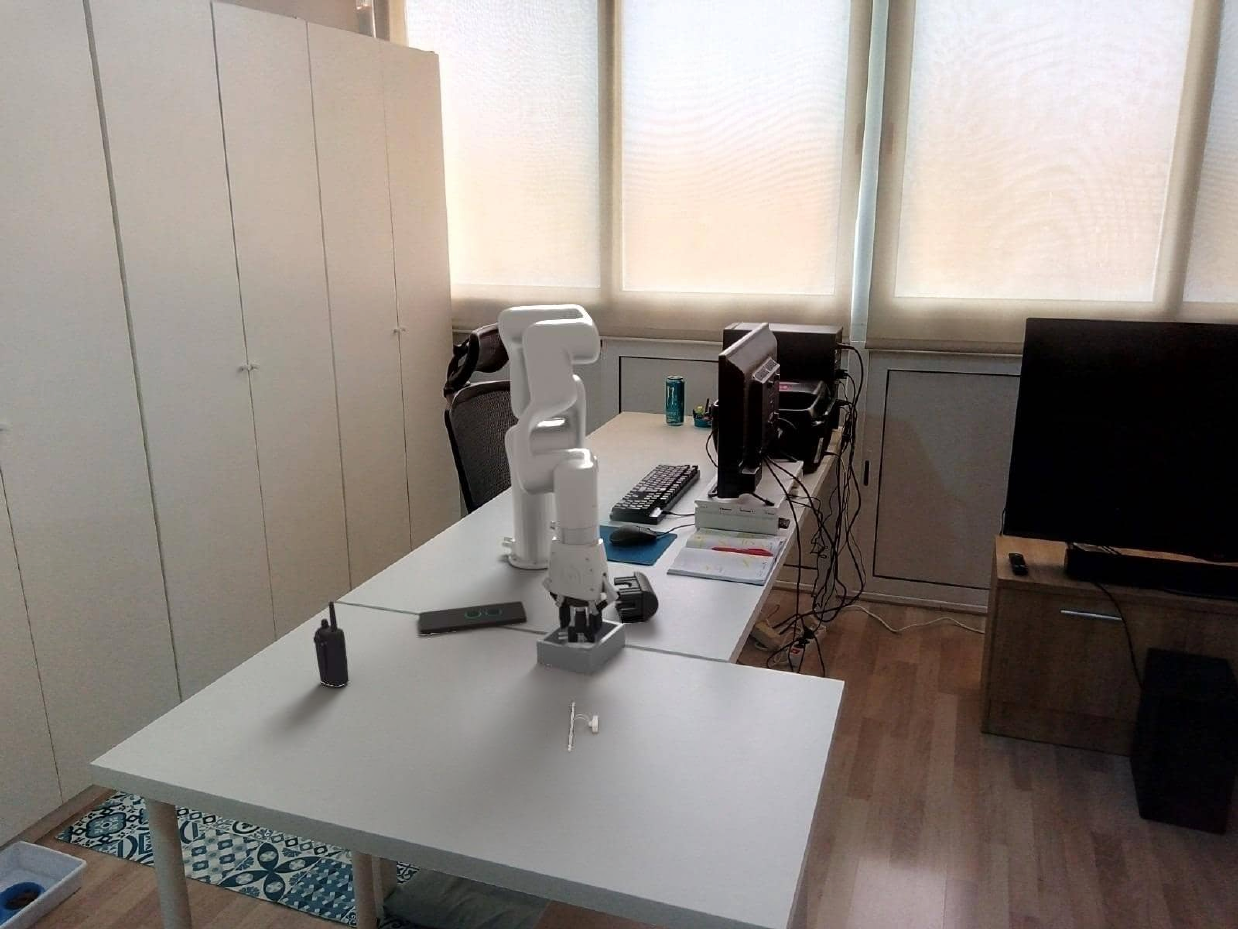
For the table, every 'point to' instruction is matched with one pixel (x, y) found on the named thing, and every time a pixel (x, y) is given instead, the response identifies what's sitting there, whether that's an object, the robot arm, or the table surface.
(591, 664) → the rectangular tray
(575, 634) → the push button
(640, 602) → the end cap
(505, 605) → the smart home device
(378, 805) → the table surface
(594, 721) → the picture light
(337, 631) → the two-way radio
